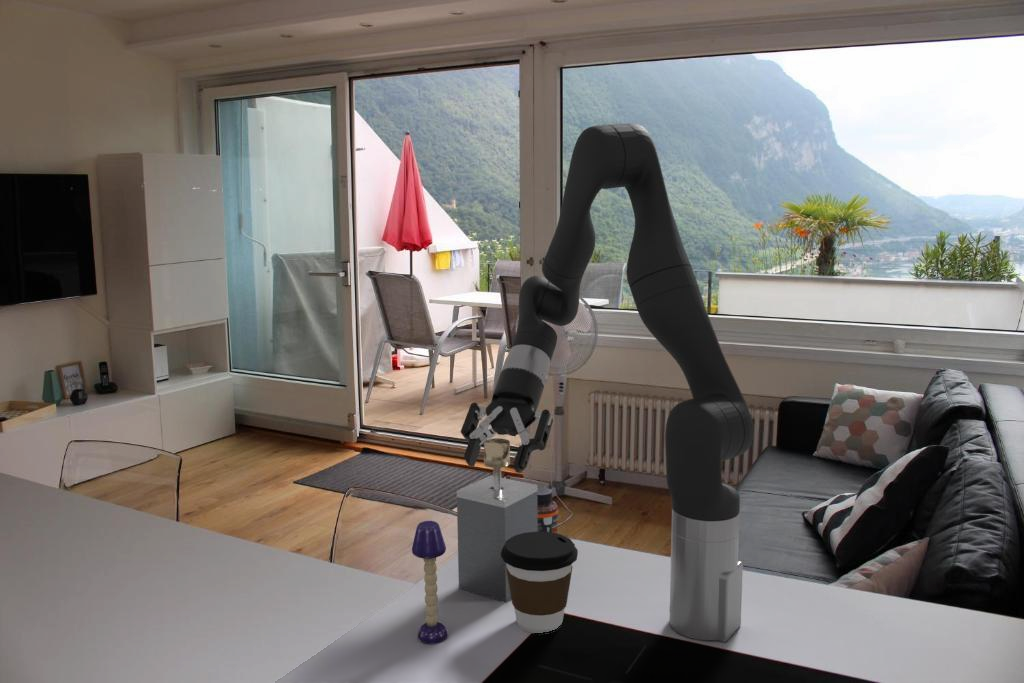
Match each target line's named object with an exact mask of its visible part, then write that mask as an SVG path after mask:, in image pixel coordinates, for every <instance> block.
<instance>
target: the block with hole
mask: <svg viewBox="0 0 1024 683" xmlns="http://www.w3.org/2000/svg"><path fill="white" fill-rule="evenodd" d="M537 488H538V484H534V483H529V482H523V481H519V480H514V479H509V478H506V477H501V490H500V491H498V490H494V483H493V475H489V476H487V477H485V478H482V479H479V480H478V481H475V482H473V483H471V484H469V485H467V486H464V487H462V488H460V489H457V490H456V514H457V515H456V516H457V518H456V520H457V521H456V522H457V558H458V559H457V562H458V564H457V565H458V567H457V568H458V569H457V570H458V589H459V588H461V589H460V590H462V589H465V590H464V591H466V590H468V591H467V592H469V591H470V592H469V593H472V592H473V594H476V595H479V594H480V595H479V596H483V597H486V598H489V599H493V600H496V601H499V602H502V601H503V603H505V602H506V603H508V602H510V599H511V594H510V588H509V582H508V576H507V571H506V568H507V564H506V563H505V562H504V561H503V559H502V557H501V551H502V548H503V546H504V545H505V542H506V541H507V540H508V539H510V538H511V537H513V536H515V535H518V534H522V533H527V532H538V509H537ZM511 600H512V599H511ZM507 601H508V602H507Z"/></svg>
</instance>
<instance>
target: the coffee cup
mask: <svg viewBox="0 0 1024 683" xmlns="http://www.w3.org/2000/svg"><path fill="white" fill-rule="evenodd" d="M578 551H579V550H578V548H577V547H576V545H575V543H574V542H573V541H572V539H571V538H569V537H567V536H565V535H563V534H561V533H558V534H556V533H551V532H527V533H522V534H518V535H515V536H513V537H511V538H510V539H508V540H507V541H506V542H505V545H504V546H503V548H502V551H501V557H502V559H503V561H504V562H505V563H506V564H507V568H506V571H507V576H508V582H509V588H510V594H511V604H512V606H513V609H514V615H515V620H516V621H517V623H518V625H519V628H520V629H522V630H523V631H524V632H525V633H526V632H527V633H531V634H534V633H543V632H549V631H552V630H555V629H557V628H558V627H559V626H560V625H561V626H562V623H563V620H564V615H565V608H566V607H567V604H568V597H569V591H570V584H571V580H572V579H571V578H572V573H573V563H575V562H576V561H577V559H578V554H579V552H578ZM561 626H560V627H561ZM560 627H559V628H560ZM559 628H558V629H559ZM558 629H557V630H558Z"/></svg>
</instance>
